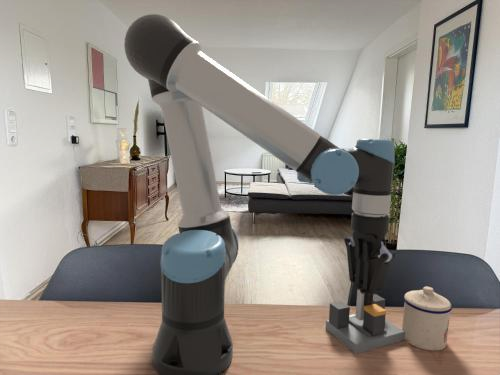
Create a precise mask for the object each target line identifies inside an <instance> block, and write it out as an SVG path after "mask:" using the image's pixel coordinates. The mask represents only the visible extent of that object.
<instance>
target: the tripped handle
mask: <svg viewBox="0 0 500 375" xmlns="http://www.w3.org/2000/svg"><path fill="white" fill-rule="evenodd" d="M386 315H387V310H386V308H385V309H383V308H381V307H380V306H378V305H376V304H372V305H368V306H364V319H363V329H364V330H366V331H367V332H369V333H370V334H371V336H373V337H374V336H377V335H381V334H384V328H385V319H386Z"/></svg>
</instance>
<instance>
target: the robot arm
mask: <svg viewBox="0 0 500 375" xmlns="http://www.w3.org/2000/svg"><path fill="white" fill-rule="evenodd" d="M123 46H124V51H125V52H124V53H125V56H126V59H127V61H128V63H129V65H130V67H132V68H133V70H134V71H135V72H136V73H137V74H139V76H141V77H143V78H145V79H147V81H148V86H149V91H150V96H151V100H152V101H153V102H154V103H155V104H157V105H158V106H159V107H160V108H161V113H162V118H163V123H164V127H165V132H166V133H165V134H166V138H167V143H168V147H169V152H170V157H171V158H170V159H171V161H172V162H171V164H172V167H173V171H174V178H175V181H176V187H177V192H178V197H179V202H180V206H181V212H182V216H181V219H180V220H179V221H178V223H177V227H178V233H176V234H173V235H171V236H169V238H167V239H166V240H165V241H164V243H163V245H162V247H161V256H160V261H159V262H160V263H159V264H160V269H161V270H160V274H161V275H160V278H161V284H160V285H161V287H160V288H161V323H160V326H159V328H158V332H157V335H156V338H155V341H154V344H153V347H152V364H153V368H154V369H155V370H156V372H157V373H158V374H159V375H220V374H221V373H223V372H224V371H225V370H227V368H228V367H229V366H230V364H231V362H232V359H233V356H234V355H233V354H234V352H233V351H234V345H233V340H232V337H231V333H230V330H229V328H228V325H227V322H226V319H225V289H226V288H225V285H226V280H227V277H228V275H229V273H230V271H231V269H232V267H233V265H234V263H235V262H236V260H237V256H238V254H239V252H238V251H239V240H238V239H239V238H238V236H237V232H236V231H235V229H234V228H233V226H232V222H231V218H230V214H229V212H227V211H226V210H224V209H223V208H222V206H221V200H220V195H219V190H218V189H219V188H218V184H217V179H216V174H215V169H214V163H213V157H212V153H211V147H210V143H209V137H208V132H207V127H206V122H205V121H206V120H205V116H204V111H203V108H204V109H206V110H207V111H208V112H210V113H211V114H212V115H214V116H216V117H217V118H218V119H220V120H222V121H223V122H224V123H225V124H227V125H229V126H230V127H231V128H233V129H234V130H236V131H237V132H238V133H239V134H241V135H243V136H244V137H246V138H247V139H249V140H250V141H251V142H254V143H255V144H256V145H257V146H259V147H260V148H262V149H263V150H264V151H266V152H268V154H270V155H272V156H273V157H275V158H276V159H278V160H279V161H280V162H283V164H285V165H286V166H288V167H289V168H291V169H292V170H294V171H295V172H296V179H297V180H298V181H299V182H300V183H308V184H310V185H311V184H313V185H314V187H315V188H316V189H317V190H319V191H321V192H323V193H325V194H327V195H331V196H337V195H344V194H345V193H347V192H349V191H350V190H351V189H353V191H352V201H351V202H352V203H351V204H352V205H351V209H352V211H353V212H352V213H351V219H350V220H351V221H350V222H351V223H350V229H351V230H352V235H351V236H350V237H345V238H344V239H343V240H344V244H345V247H346V254H347V257H346V258H347V267H348V276H349V277H348V278H349V281H350V283H353V284H354V287H355V301H356V306H355V314H356V318H357V319H358V320H360V321H361V320H363V319H364V306H368V305H372V304H373V294H377V293H382V291H383V288H384V286H385V282H386V278H387V275H388V272H389V268H390V265H391V264H392V262H393V260H394V259H395V258H396V254H395V253H394V251H393V252H390V251H389V249H388V248H387V241H386V235H387V234H388V232H389V227H390V216H389V215H388V214H390V213H391V212H390V211H391V210H390V209H391V200H392V199H391V198H392V187H393V179H394V178H393V176H394V166H395V161H396V160H395V153H396V152H395V151H396V149H395V143H394V142H393V140H391V139H388V138H387V139H386V138H384V139H383V138H382V139H381V138H380V139H379V138H377V139H375V138H359V139H358V140H357V141H356V143H355V144H356V145H355V146H354V147H348V148H347V147H338V146H337V145H335V144H334V142H333V143H332V142H331V141H329V140H328V139H327V138H325V137H323V135H321V134H320V133H318V132H317V131H315V130H314V129H312V128H311V127H310V126H308V125H307V124H305V123H304V122H303V121H301V120H300V119H298V118H297V117H295V116H294V115H293V114H291V113H290V112H288V111H287V110H285V109H284V108H283V107H281V106H279V105H278V104H276V103H275V102H274V101H272V100H271V99H269V98H267V97H268V96H265V95H264V94H262V93H260V92H259V91H258V90H256V89H255V88H253V86H250V85H249V84H248V83H246V82H245V81H244V80H242V79H240V78H239V77H238V76H236V75H235V74H234V73H232V72H230V70H228V69H226V68H225V67H223V66H222V65H221V64H219V63H218V62H217V61H215V60H213V59H212V58H210V57H209V56H208V55H206V54H205V53H203V50H202V46H201V44H200V43H199V42H198V41H197V40H195V39H194V38H192V37H191V36H190V35H188V34H187V33H186V32H185V31H184V30H183V29H182V28H181V27H180V25H178V24H177V23H176V22H175V21H174V20H173V19H171V18H169V17H167V16H165V15H161V14H156V13H153V14H151V13H150V14H146V15H142V16H140V17H138V18H137V19H136V20H134V21H133V22H132V23H131V24H130V26H129V27H128V28H127V30H126V33H125V37H124V45H123Z"/></svg>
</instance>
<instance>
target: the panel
mask: <svg viewBox="0 0 500 375" xmlns="http://www.w3.org/2000/svg"><path fill="white" fill-rule="evenodd" d="M373 304H376V305H378V306H380V307H381V308H383V309H385V310H386V308H385V306H386V299H385V298H384V297H382V296H381V295H378V294H377V293H374V294H373ZM350 310H351V307H350V305H348V304H346V303H344V302H343V301H342V300H338V301H334V302H330V303H329V314H328V319H325V329H326V330H327V331H328V332H329V333H330V334H332V335H333V336H334V337H335V338H336V339H337V340H339V341H340V342H341V343H342V344H344V346H346V347H347V348H348V349H349V350H350V351H352V353H354V354H355V355H356V354H360V353H364V352H367V351H372V350H374V349H378V348H382V347H385V346H389V345H393V344H397V343H398V342H399V343H401V342H403V341H405V339H404V336H405V331H403V330H402V328H401V327H398V326H397V325H395V324H394V323H392V322H391V321H389V320H387V319H386V318H385V328H384V334H381V335H377V336H374V337H373V336H371V334H370V333H369V332H367V331H366V330H364V329H363V320H361V321H360V320H358V319H357V318H356V313H353V314H350Z"/></svg>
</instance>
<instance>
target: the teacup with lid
mask: <svg viewBox="0 0 500 375" xmlns="http://www.w3.org/2000/svg"><path fill="white" fill-rule="evenodd" d="M403 301H404V303H403V304H404V306H403V314H402V315H403V316H402V326H401V327H402V328H401V329H402V330H403V331H405V336H404V341H406V342H407V343H408V344H410V345H412V346H414V347H416V348H418V349H422V350H426V351H432V352H434V351H441V350H444V349H445V348H446V347H447V342H448V335H449V334H448V333H449V324H450V315H451V311H452V310H453V307H452V304H451V302H450V301H449V299H447V298H446V297H445V296H442V295H440V294H438V293H436V292H435V291H434V288H433V287H431V286H424V287H423V288H422V289H419V290H418V289H417V290H410V291H407V292H406V293H405V294H404V296H403Z"/></svg>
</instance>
